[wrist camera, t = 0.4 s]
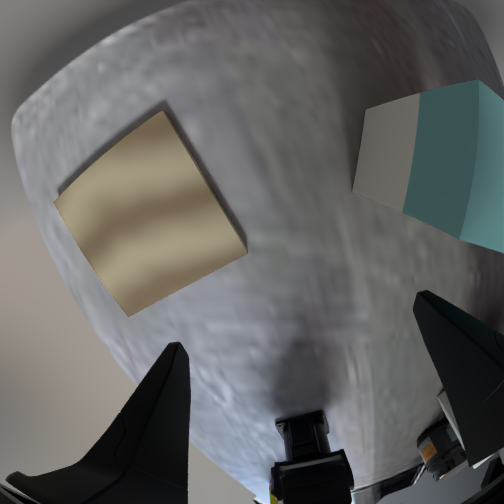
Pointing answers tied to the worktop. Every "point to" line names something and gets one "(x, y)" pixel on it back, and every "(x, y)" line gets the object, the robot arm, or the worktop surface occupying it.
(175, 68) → the worktop surface
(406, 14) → the worktop surface
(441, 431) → the supplement container
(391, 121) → the cream storage box
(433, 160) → the aqua cube
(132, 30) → the worktop surface
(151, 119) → the oak board
